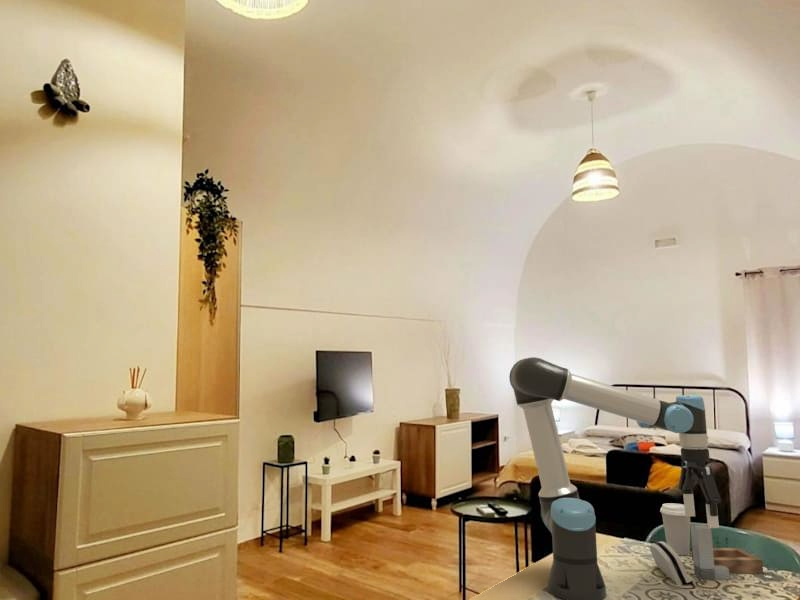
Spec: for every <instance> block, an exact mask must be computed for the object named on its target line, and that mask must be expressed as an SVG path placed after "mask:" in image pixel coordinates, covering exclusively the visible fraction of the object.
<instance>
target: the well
mask: <svg viewBox="0 0 800 600" xmlns="http://www.w3.org/2000/svg"><path fill="white" fill-rule="evenodd" d="M690 554H691V561H692V560H693V549H692V547H690ZM713 555H714V564H722V565H723V566H725V567H727V568H728V569H729V575H730V574H733V575H734V574H735V575H736V574H737V575H738V574H739V575H741V574H743V575H745V574H746V575H747V574H748V575H749V574H757V575H758V574H762V575H763V574H764V565H763V559H761V558H759V557H757V556H755V555H754V554H751V553H749V552H748V551H746V550H744V549H742V548H740V547H713Z"/></svg>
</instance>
